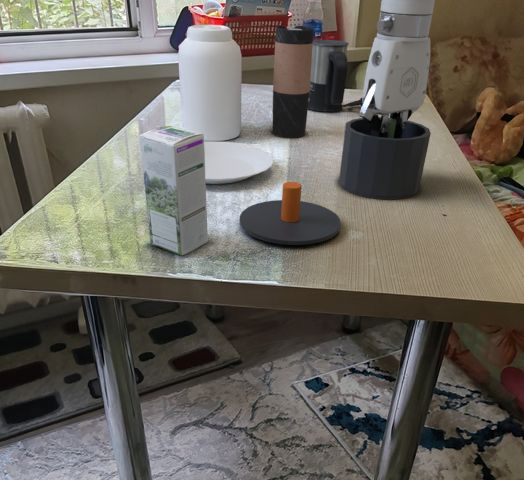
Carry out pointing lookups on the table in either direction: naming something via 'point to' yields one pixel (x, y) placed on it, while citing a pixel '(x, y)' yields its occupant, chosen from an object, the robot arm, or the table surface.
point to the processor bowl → (383, 161)
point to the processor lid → (290, 219)
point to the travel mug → (291, 80)
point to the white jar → (210, 82)
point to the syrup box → (175, 188)
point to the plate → (233, 162)
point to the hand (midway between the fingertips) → (383, 152)
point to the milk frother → (329, 76)
